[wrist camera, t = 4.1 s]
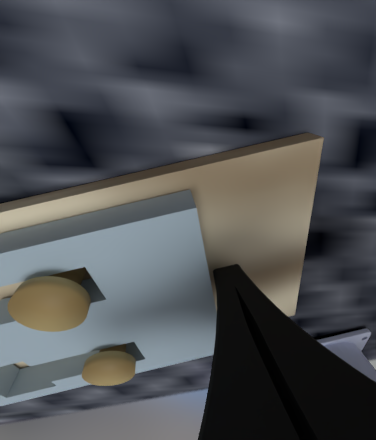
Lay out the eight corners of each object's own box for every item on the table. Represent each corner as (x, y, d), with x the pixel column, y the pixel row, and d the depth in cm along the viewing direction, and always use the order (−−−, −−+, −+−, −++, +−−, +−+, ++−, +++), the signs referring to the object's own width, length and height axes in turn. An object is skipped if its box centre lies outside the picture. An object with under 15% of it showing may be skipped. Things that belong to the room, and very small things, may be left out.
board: (287, 302, 16) (317, 351, 13) (20, 366, 15) (-11, 430, 13) (307, 132, 9) (379, 155, 6) (-161, 241, 9) (-312, 316, 6)
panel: (218, 328, 14) (224, 352, 13) (12, 377, 14) (-2, 406, 13) (190, 189, 8) (196, 207, 7) (-159, 270, 8) (-214, 303, 7)
